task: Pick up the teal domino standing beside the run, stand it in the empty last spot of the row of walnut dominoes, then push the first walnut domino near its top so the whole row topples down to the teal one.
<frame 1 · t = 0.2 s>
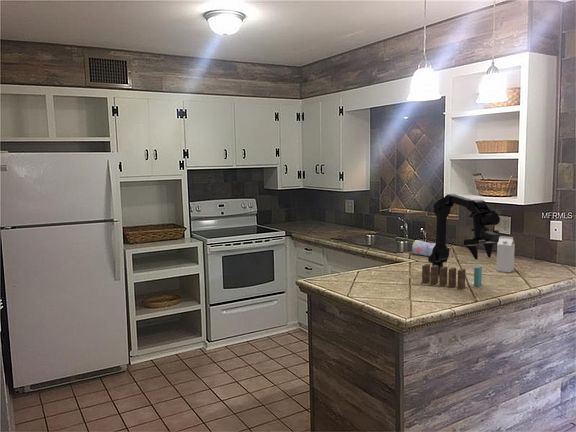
hand: (483, 258, 231), 14 cm above the worktop, tool pointing down, fingers open, 9 cm apart
walnut domino 2: (434, 283, 242), on the worktop
walnut domino 5: (461, 287, 234), on the worktop
walnut domino 3: (443, 285, 239), on the worktop
walnut domino 1: (425, 282, 245), on the worktop
milk carton: (505, 271, 265), on the worktop
teal domino: (477, 284, 238), on the worktop
walnut domino 4: (452, 286, 236), on the worktop
pencil case: (428, 256, 307), on the worktop
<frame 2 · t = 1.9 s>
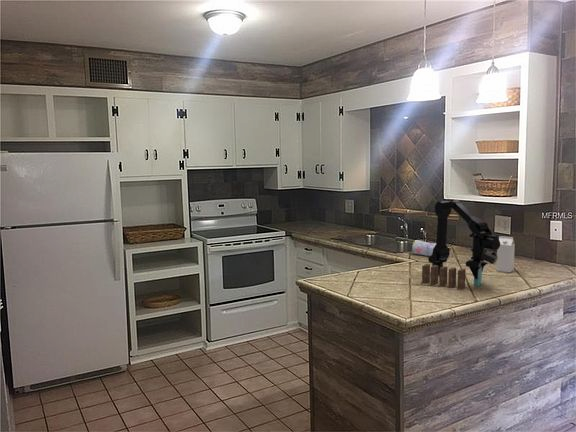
hand: (477, 277, 238), 3 cm above the worktop, tool pointing down, fingers closed on teal domino, 5 cm apart
teal domino: (477, 284, 238), on the worktop, touching gripper
everything else where it was.
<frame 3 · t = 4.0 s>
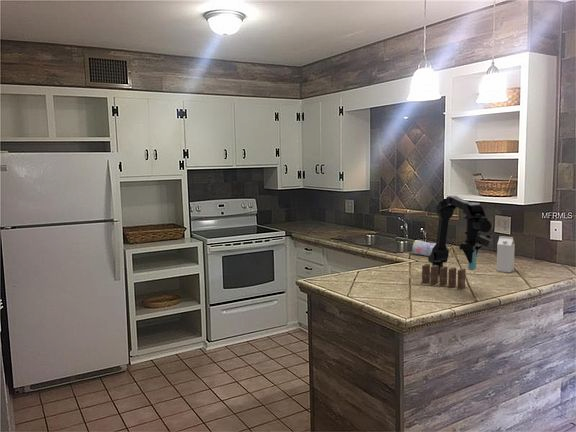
hand: (472, 262, 229), 13 cm above the worktop, tool pointing down, fingers closed on teal domino, 5 cm apart
teal domino: (472, 269, 230), point 10 cm above the worktop, touching gripper
everything else where it was.
when the fingers open (5 cm above the worktop, at t = 6.0 s): teal domino drops 1 cm, on the worktop.
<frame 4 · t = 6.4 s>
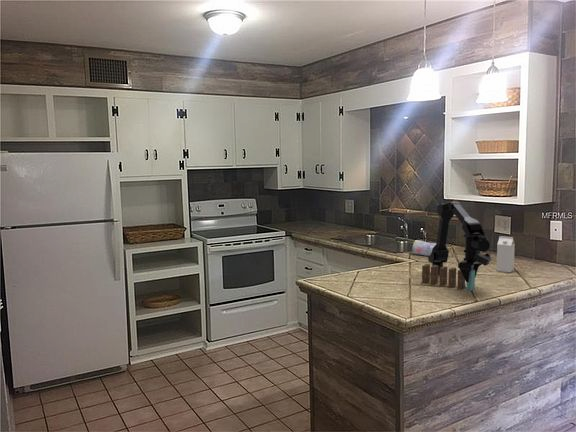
hand: (470, 279, 230), 5 cm above the worktop, tool pointing down, fingers open, 9 cm apart
teal domino: (470, 289, 231), on the worktop
everything else where it was.
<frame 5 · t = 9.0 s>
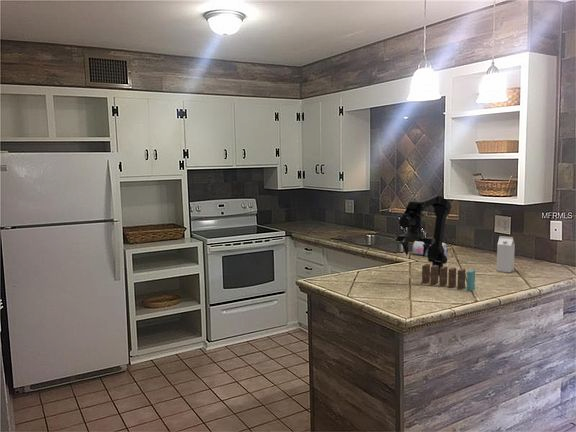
hand: (415, 255, 247), 13 cm above the worktop, tool pointing down, fingers open, 9 cm apart
nothing on the worktop moved.
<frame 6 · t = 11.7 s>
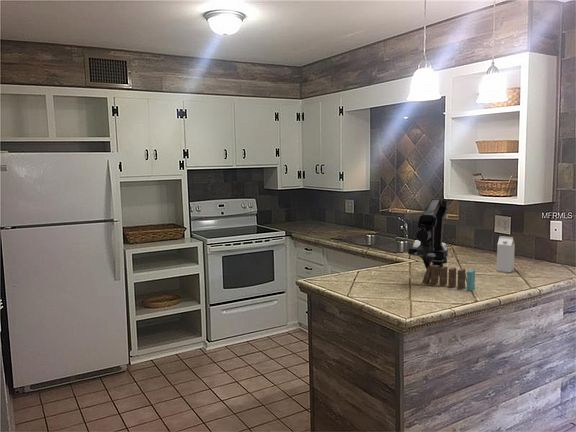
hand: (427, 269, 244), 7 cm above the worktop, tool pointing down, fingers closed
walnut domino 1: (426, 281, 245), on the worktop, tilted 19°, touching gripper
everything else where it was.
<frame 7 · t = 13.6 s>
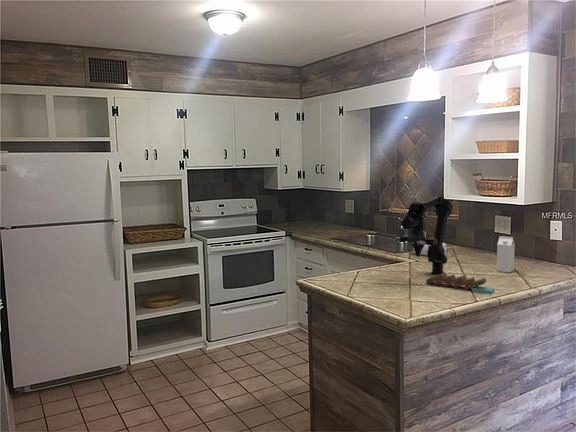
hand: (417, 256, 248), 12 cm above the worktop, tool pointing down, fingers closed
walnut domino 2: (436, 282, 241), point 1 cm above the worktop, tilted 65°, touching walnut domino 1
walnut domino 5: (466, 286, 232), point 1 cm above the worktop, tilted 63°, touching teal domino, walnut domino 4
walnut domino 3: (446, 283, 238), point 1 cm above the worktop, tilted 65°, touching walnut domino 4
walnut domino 1: (428, 280, 244), point 1 cm above the worktop, tilted 65°, touching walnut domino 2
teal domino: (473, 288, 230), on the worktop, tilted 90°, touching walnut domino 5
walnut domino 4: (455, 285, 235), point 1 cm above the worktop, tilted 66°, touching walnut domino 3, walnut domino 5
everything else where it was.
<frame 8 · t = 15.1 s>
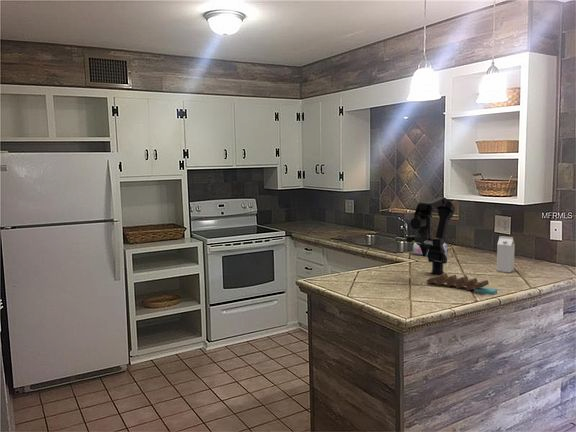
hand: (424, 256, 250), 12 cm above the worktop, tool pointing down, fingers closed
walnut domino 2: (438, 282, 241), point 1 cm above the worktop, tilted 66°, touching walnut domino 1, walnut domino 3
walnut domino 5: (469, 286, 231), point 1 cm above the worktop, tilted 67°, touching teal domino, walnut domino 4
walnut domino 3: (449, 283, 238), point 1 cm above the worktop, tilted 65°, touching walnut domino 2, walnut domino 4
teal domino: (475, 289, 229), on the worktop, tilted 90°, touching walnut domino 5
walnut domino 4: (458, 285, 235), point 1 cm above the worktop, tilted 66°, touching walnut domino 3, walnut domino 5
everything else where it was.
at the end: teal domino tilted 90°; walnut domino 3 tilted 65° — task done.
